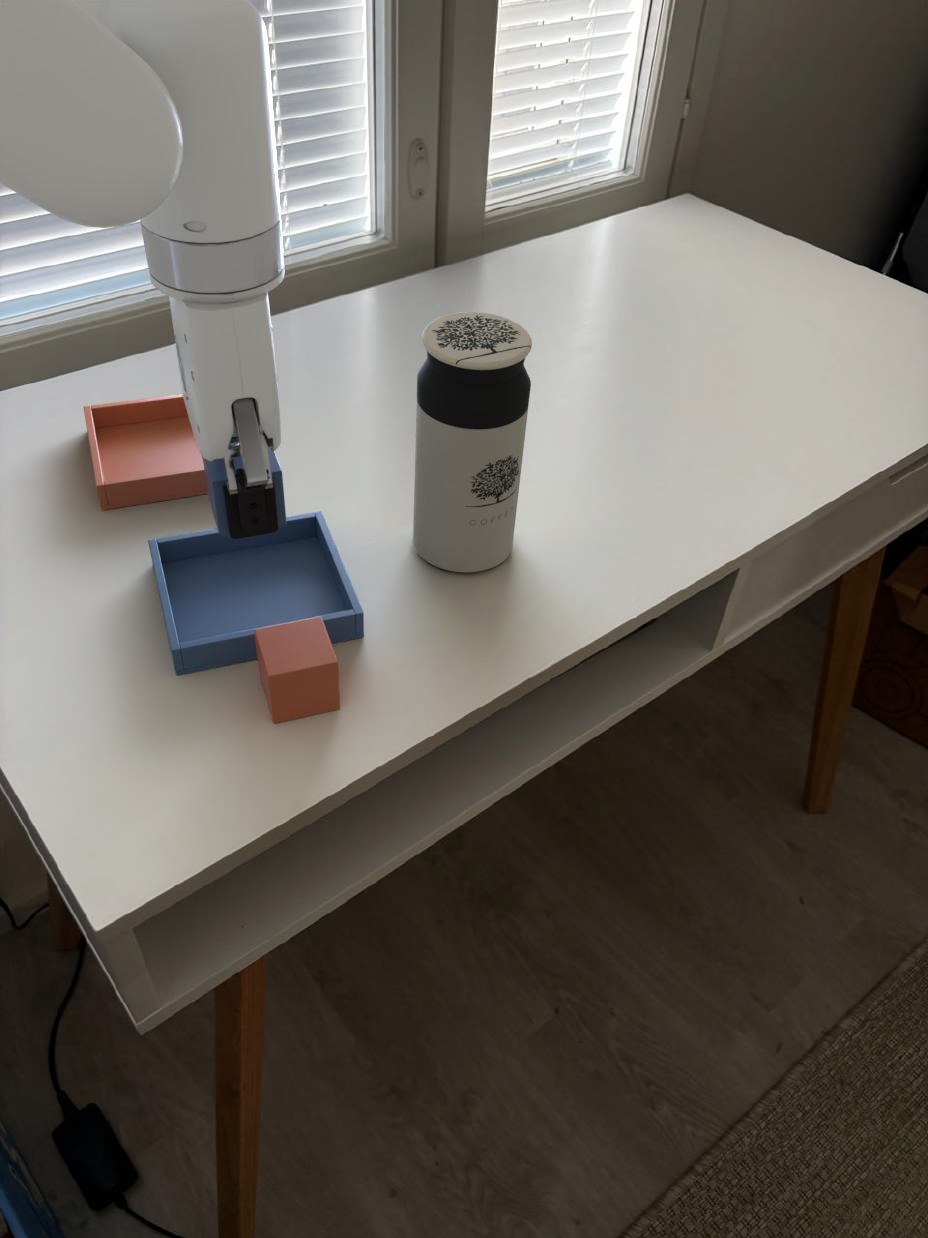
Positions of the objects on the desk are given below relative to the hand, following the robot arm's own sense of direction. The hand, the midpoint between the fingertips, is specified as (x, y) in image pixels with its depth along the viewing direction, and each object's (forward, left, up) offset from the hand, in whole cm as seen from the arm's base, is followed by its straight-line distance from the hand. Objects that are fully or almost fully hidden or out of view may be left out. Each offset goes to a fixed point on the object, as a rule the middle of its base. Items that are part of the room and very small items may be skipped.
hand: (246, 507), depth 69 cm
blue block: (0, 0, 0) cm, 0 cm away
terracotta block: (+1, -10, -8) cm, 13 cm away
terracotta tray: (-3, +20, -8) cm, 22 cm away
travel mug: (+17, +2, -9) cm, 19 cm away
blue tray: (0, 0, -8) cm, 8 cm away
